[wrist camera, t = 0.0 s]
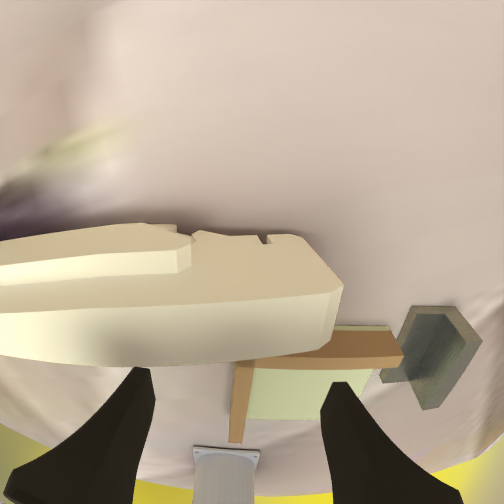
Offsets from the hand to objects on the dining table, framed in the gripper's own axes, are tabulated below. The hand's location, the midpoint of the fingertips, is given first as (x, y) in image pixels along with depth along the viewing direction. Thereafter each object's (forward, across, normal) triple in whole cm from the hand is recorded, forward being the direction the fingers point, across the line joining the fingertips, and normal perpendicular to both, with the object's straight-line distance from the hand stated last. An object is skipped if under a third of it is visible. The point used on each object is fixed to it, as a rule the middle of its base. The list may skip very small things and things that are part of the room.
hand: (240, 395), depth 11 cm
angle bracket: (+10, -16, +6) cm, 20 cm away
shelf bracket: (+10, +9, -1) cm, 14 cm away
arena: (+10, -6, +10) cm, 15 cm away
